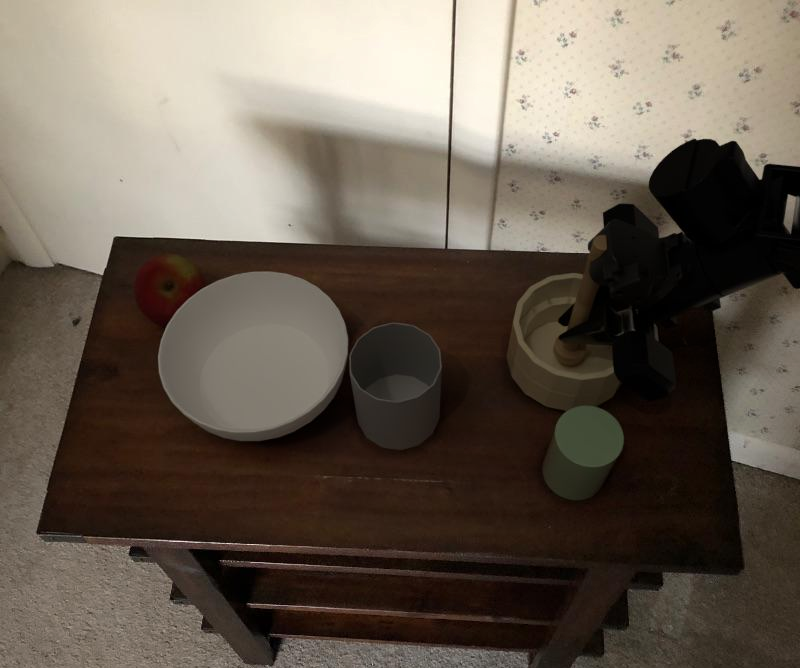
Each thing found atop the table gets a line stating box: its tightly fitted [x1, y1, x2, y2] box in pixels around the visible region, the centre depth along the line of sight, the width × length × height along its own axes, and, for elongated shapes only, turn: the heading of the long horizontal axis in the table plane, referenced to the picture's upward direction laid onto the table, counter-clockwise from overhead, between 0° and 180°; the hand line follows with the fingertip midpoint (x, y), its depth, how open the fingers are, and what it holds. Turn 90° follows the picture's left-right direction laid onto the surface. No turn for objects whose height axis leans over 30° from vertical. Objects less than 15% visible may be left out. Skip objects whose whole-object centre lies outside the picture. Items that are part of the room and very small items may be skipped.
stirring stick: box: [553, 235, 607, 365], centre depth 71 cm, size 3×3×17 cm
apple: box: [133, 253, 208, 329], centre depth 81 cm, size 8×8×8 cm
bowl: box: [157, 271, 349, 442], centre depth 76 cm, size 18×18×7 cm
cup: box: [348, 321, 443, 451], centre depth 73 cm, size 8×8×10 cm
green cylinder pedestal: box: [541, 406, 625, 501], centre depth 71 cm, size 6×6×8 cm
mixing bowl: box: [506, 272, 629, 412], centre depth 77 cm, size 12×12×7 cm
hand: (560, 331), depth 75 cm, fingers closed on stirring stick, 2 cm apart
